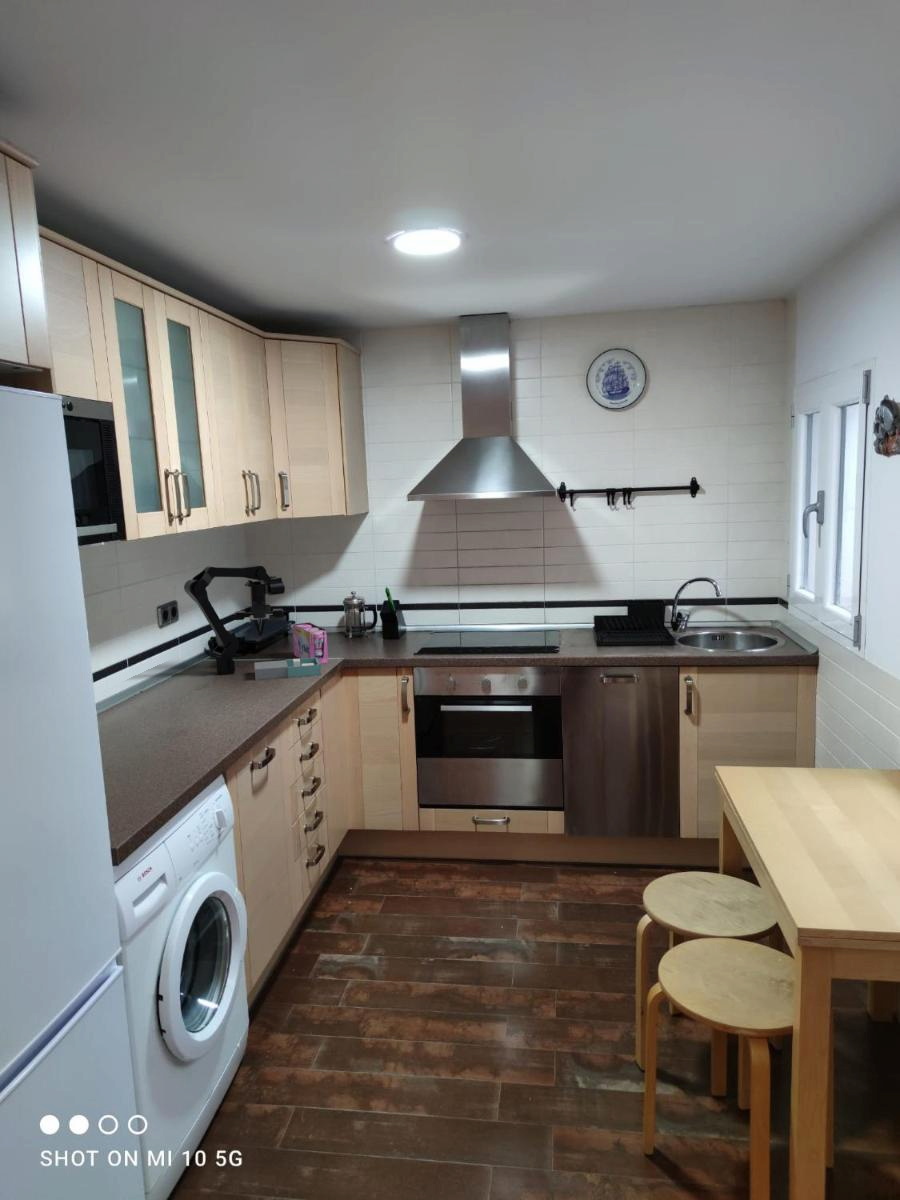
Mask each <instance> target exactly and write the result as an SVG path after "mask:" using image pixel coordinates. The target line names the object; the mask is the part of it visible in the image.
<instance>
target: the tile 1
mask: <svg viewBox="0 0 900 1200" xmlns="http://www.w3.org/2000/svg"><path fill="white" fill-rule="evenodd" d="M292 659H293V667H294V666H301V665H300V658H292Z"/></svg>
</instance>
